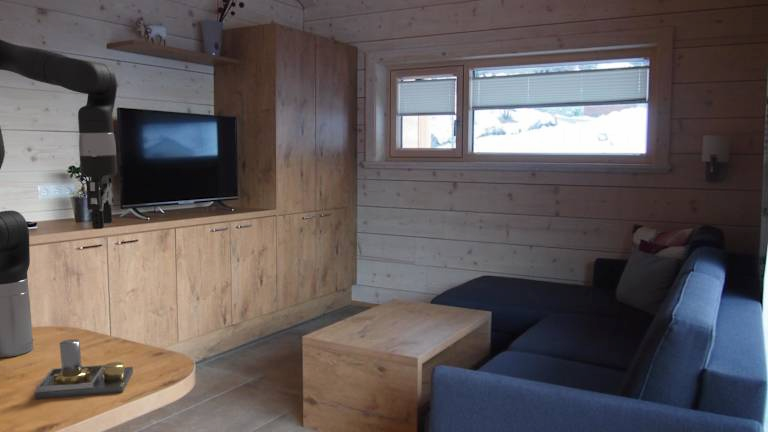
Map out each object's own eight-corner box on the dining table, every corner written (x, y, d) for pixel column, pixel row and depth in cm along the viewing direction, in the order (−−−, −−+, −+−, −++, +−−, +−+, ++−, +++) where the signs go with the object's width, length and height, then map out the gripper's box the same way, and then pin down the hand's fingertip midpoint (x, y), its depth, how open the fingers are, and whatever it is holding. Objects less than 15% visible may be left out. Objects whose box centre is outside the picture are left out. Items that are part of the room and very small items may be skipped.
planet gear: (49, 387, 128) (46, 348, 127) (59, 375, 135) (56, 338, 134) (86, 385, 129) (83, 346, 128) (94, 372, 136) (91, 335, 135)
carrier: (35, 399, 126) (33, 380, 125) (52, 378, 137) (51, 361, 136) (122, 392, 129) (121, 374, 128) (133, 372, 140) (131, 355, 139)
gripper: (88, 152, 151) (92, 222, 153) (71, 155, 137) (76, 231, 139) (122, 152, 152) (126, 220, 155) (108, 154, 139) (113, 229, 141)
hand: (102, 225), depth 147 cm, fingers open, 8 cm apart
